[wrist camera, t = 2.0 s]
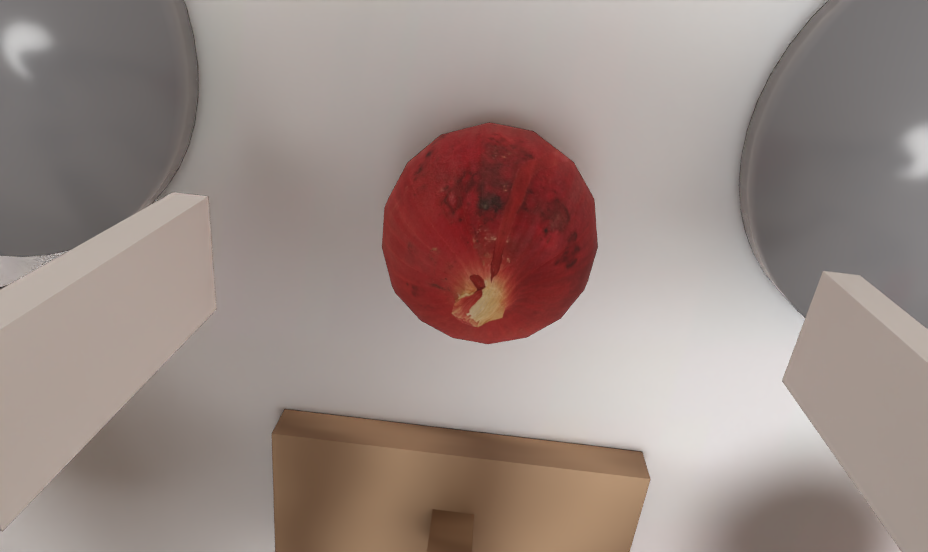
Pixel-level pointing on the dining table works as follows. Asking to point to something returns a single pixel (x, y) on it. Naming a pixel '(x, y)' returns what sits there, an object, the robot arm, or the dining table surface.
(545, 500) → the balance
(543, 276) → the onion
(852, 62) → the dish
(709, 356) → the dining table surface
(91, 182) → the dish
